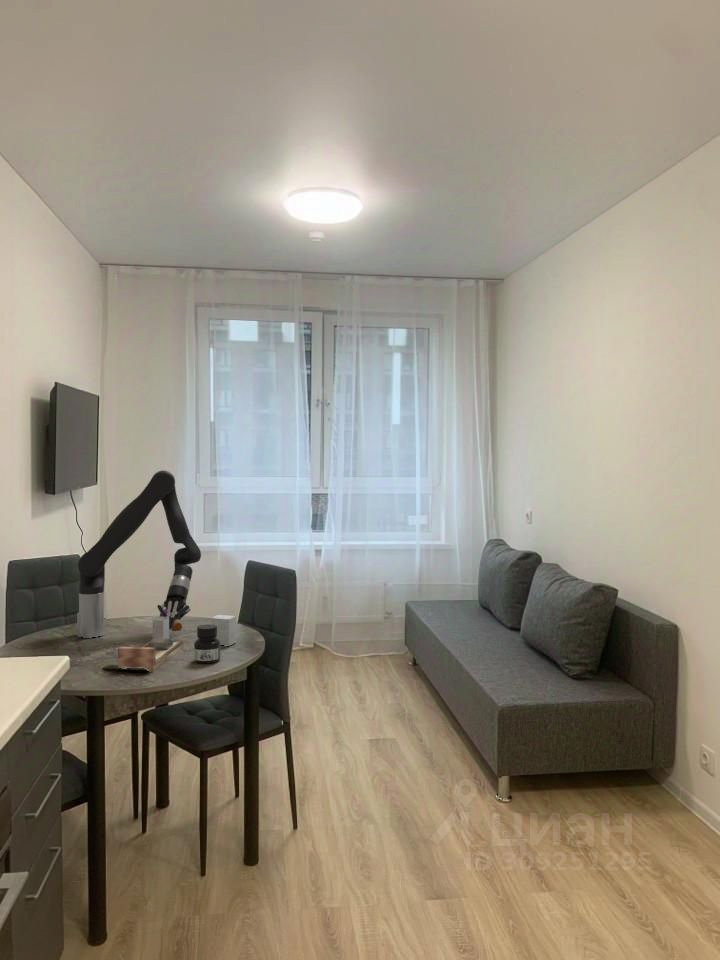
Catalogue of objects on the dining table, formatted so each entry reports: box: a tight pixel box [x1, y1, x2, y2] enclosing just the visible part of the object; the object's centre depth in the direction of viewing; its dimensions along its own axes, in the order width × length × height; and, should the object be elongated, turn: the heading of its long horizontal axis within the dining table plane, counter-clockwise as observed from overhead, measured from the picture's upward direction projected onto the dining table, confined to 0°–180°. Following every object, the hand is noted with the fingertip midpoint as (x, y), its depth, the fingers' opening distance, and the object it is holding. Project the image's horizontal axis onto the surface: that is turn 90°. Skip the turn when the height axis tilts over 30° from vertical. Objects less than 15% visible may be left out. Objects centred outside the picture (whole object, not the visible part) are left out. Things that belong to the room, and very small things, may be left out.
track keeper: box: [148, 616, 174, 649], centre depth 261 cm, size 7×6×10 cm
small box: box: [210, 614, 237, 647], centre depth 271 cm, size 8×6×10 cm
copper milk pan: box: [117, 640, 185, 673], centre depth 253 cm, size 12×32×8 cm, turn 176°
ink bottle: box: [193, 623, 221, 665], centre depth 249 cm, size 10×9×12 cm
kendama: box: [159, 608, 183, 631], centre depth 301 cm, size 6×6×20 cm
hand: (168, 628), depth 269 cm, fingers closed
